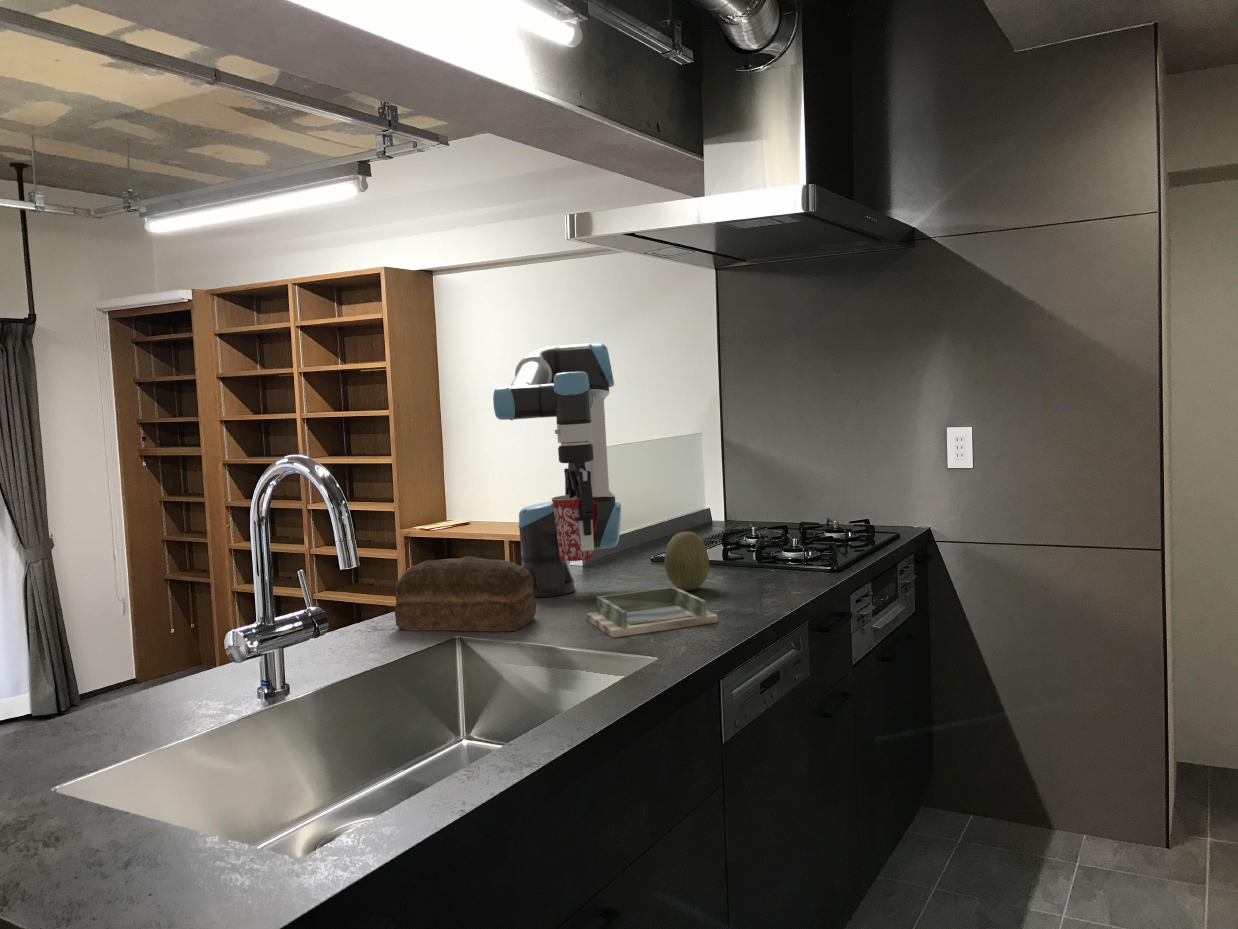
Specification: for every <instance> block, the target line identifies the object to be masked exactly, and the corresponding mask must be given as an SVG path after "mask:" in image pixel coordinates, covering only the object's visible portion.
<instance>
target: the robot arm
mask: <svg viewBox="0 0 1238 929" xmlns="http://www.w3.org/2000/svg"><path fill="white" fill-rule="evenodd" d="M611 364H612V363H611V360H610V355H609V350H608V346H606V344H603V343H600V342H599V343H592V342H588V343H577V344H576V343H575V344H564V345H563V344H562V345H550V346H544V347H542V348H538V349H536V350H534V351H532V352H530V353H529V354H527V355H525V356H524V357H523V358H522V359H521V360H520V361H519V362H518V363H517V365H516V367H515V372H514V376H515V377H514V378H513V381H512V382H511V384H510V385H509V386H508V385H504V386H499V387H496V388H494V391H493V396H492V397H493V398H492V399H493V412H494V415H495V417H496V418H497V420H500V421H501V420H502V421H503V420H506V421H508V420H509V421H514V420H524V419H525V420H526V419H540V418H556V429H555V430H554V434H555V435H556V436H557V443H558V444H560V445H558V448H557V451H558V452H557V453H558V462H559V463H561V464H568V465H567V468H566V467H565V468H563V469H564V470H563V472H564V481H565V482H564V485H565V486H564V487H565V488H564V489H565V491H564V492H565V494H564V495H569V496H570V498H573V497H575V496H576V497H577V499H578V498H580V501H581V502H579V513H580V517H578V518H577V521H579V528H580V544H581V551H590V550H593V551H594V550H602V549H612V548H614V547H616V546H617V545H618V543H619V540H620V530H621V522H622V521H621V520H622V519H621V518H622V504H621V503H620V502H618V501H616V495H614V494H613V492H612V491H611V490H610V487H609V486H610V484H609V468H608V467H609V466H608V465H609V464H608V450H607V434H606V433H607V428H606V418H605V417H606V415H605V413H606V412H605V411H606V410H605V399H606V398H607V397H608V396H609V395H610V388H612V387H613V386H615V380H614V374H613V369H612V365H611ZM593 495H594V497H593ZM593 501H595V502H596V503H597V506H598V522H597V526H596V530H595V533H594V536H593V524H592V519H593V517H595V512H594V504H593ZM517 527H518V529H519V540H520V541H519V542H520V555H521V566H522V567H524V568H525V569H526V570H527V571H528V572H529V573H530V574H531V577H532V581H533V593H534V596H535V598H547V597H548V598H549V597H555V596H562V595H566V594H569V593H572V592H574V591H575V590H576V588H575V587H576V586H575V579H574V577H573V575H572V572H571V569H570V567H569V564H568V561H563V560H561V559H560V554H559V545H558V539H557V530H556V523H555V515H554V508H553V502H552V500H550V501H546V502H545V501H544V502H540V503H536V504H531V505H529V506H525V507H524V508H522V509H521V510H520V511H519V513H518V526H517Z"/></svg>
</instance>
